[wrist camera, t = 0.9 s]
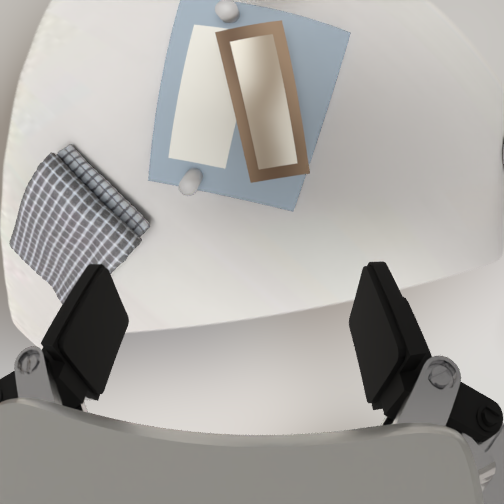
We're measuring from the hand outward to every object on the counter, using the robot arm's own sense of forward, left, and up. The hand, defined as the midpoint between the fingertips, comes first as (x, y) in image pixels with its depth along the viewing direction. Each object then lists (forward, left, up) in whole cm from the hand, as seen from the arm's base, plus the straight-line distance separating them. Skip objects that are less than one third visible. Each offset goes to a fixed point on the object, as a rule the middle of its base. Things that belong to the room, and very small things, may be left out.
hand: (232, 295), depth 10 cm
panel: (+2, -4, -21) cm, 22 cm away
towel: (+20, +14, -22) cm, 33 cm away
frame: (0, -5, -20) cm, 21 cm away
